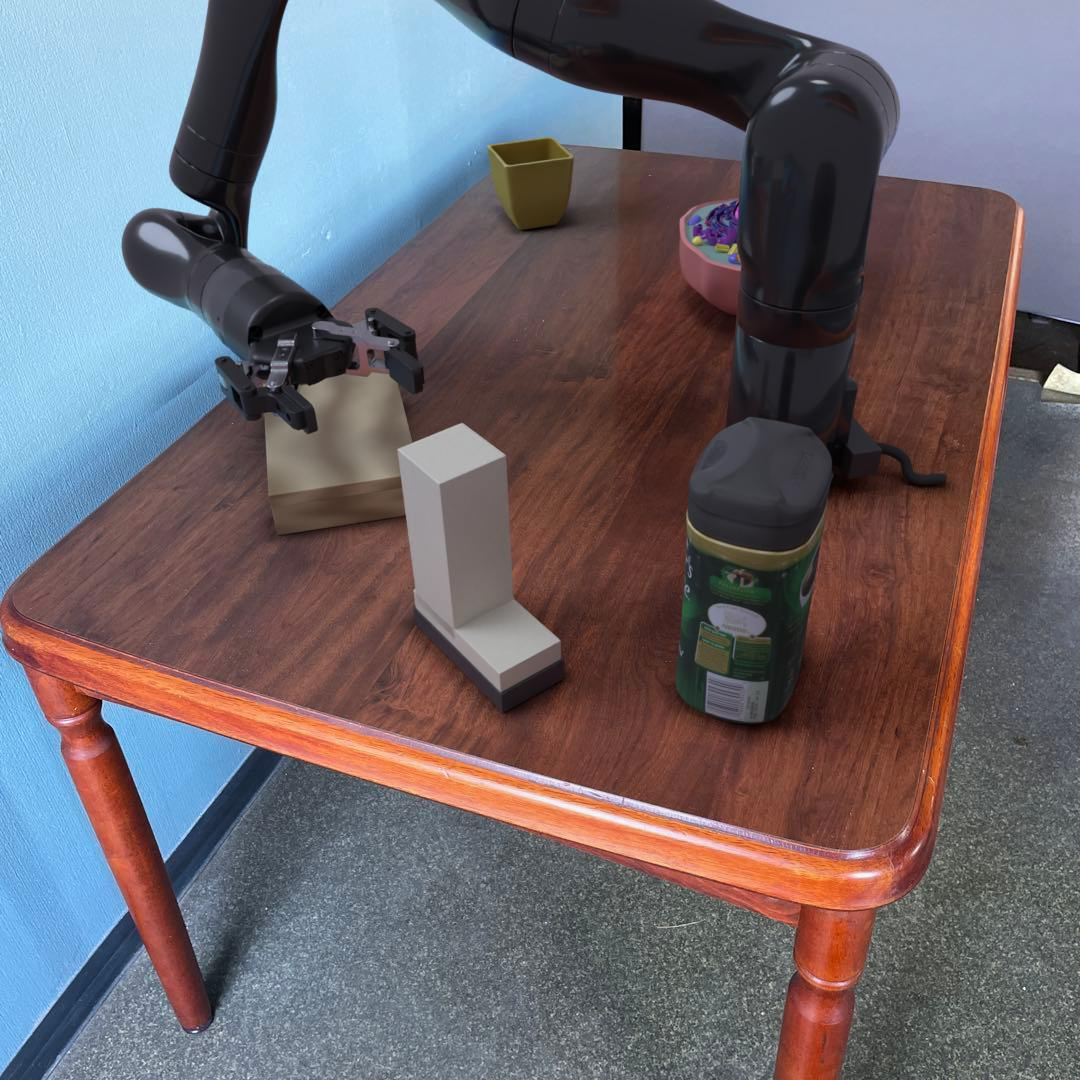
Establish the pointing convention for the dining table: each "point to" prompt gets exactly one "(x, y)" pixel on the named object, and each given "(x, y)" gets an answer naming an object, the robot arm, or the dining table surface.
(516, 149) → the flower pot
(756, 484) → the coffee jar
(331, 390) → the tan flat block
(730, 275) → the cell model
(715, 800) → the dining table surface
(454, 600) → the boot
